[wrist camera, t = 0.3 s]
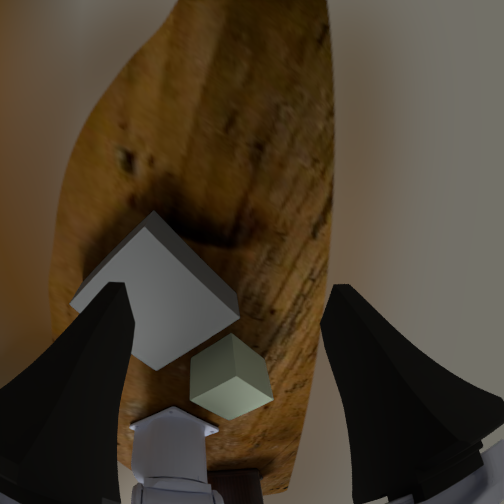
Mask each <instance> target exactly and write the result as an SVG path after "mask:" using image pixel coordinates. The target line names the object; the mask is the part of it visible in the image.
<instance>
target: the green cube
mask: <svg viewBox="0 0 504 504" xmlns="http://www.w3.org/2000/svg"><path fill="white" fill-rule="evenodd" d="M272 400H274V398H273V394H272V390H271V385H270V381H269V376H268V372H267V368H266V363H265V359H264V358H262V357H261V356H260V355H259V354H257V353H256V352H255V351H253V350H252V349H251V348H250V347H248V346H247V345H246V344H245V343H243V342H242V341H241V340H240V339H239V338H237V337H236V336H235V335H234V334H232V333H230V334H229V335H227V336H225V337H224V338H222V339H221V340H219V341H218V342H216V343H214V344H213V345H211V346H210V347H208V348H206V349H205V350H203V351H201V352H200V353H198V354H197V355H195V356H193V357H192V358H191V367H190V401H192V402H194V403H196V404H198V405H200V406H201V407H203V408H205V409H207V410H209V411H211V412H213V413H215V414H217V415H219V416H221V417H223V418H225V419H227V420H232V419H234V418H236V417H238V416H241V415H243V414H245V413H247V412H249V411H252V410H254V409H256V408H258V407H260V406H262V405H264V404H266V403H268V402H270V401H272Z"/></svg>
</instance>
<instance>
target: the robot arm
mask: <svg viewBox="0 0 504 504" xmlns="http://www.w3.org/2000/svg"><path fill="white" fill-rule="evenodd" d="M320 326H321V332H322V337H323V341H324V347H325V350H326V353H327V356H328V359H329V362H330V365H331V368H332V371H333V375H334V377H335V380H336V384H337V386H338V390H339V392H340V396H341V399H342V403H343V407H344V412H345V417H346V423H347V428H348V436H349V443H350V452H351V463H352V498H353V503H354V504H363V503H367V502H370V501H374V500H377V499H380V498H383V497H385V496H387V497H388V501H389V502H388V503H385V504H499V503H501V502H502V501H503V500H504V440H503V439H502V440H500V441H498V442H497V443H496V444H494V445H493V446H491V447H490V448H489V449H487V450H486V451H484V452H482V453H481V454H480V452H479V449H481V448H482V447H483V444H482V442H481V439H483V438H485V437H486V436H487V435H489V434H490V433H492V432H493V431H494V430H495V429H497V428H498V427H500V426H501V425H502V424H504V401H503V399H502V398H501V397H498V396H496V395H494V394H491V393H489V392H487V391H484V390H482V389H480V388H477V387H476V386H474V385H472V384H470V383H468V382H466V381H464V380H463V379H461V378H459V377H458V376H456V375H454V374H453V373H451V372H449V371H448V370H447V369H445V368H444V367H442V366H441V365H439V364H438V363H436V362H435V361H433V360H432V359H431V358H430V357H428V356H427V355H426V354H424V353H423V352H422V351H420V350H419V349H418V348H417V347H416V346H414V345H413V344H412V343H411V342H410V341H409V340H407V339H406V338H405V337H404V336H403V335H402V334H401V333H400V332H398V331H397V330H396V329H395V328H394V327H393V326H392V325H391V324H390V323H389V322H388V321H387V320H386V319H385V318H383V316H382V315H381V314H380V313H378V312H377V311H376V310H375V309H374V308H373V307H372V306H371V305H370V304H369V303H368V302H367V301H366V300H365V299H364V298H363V297H362V296H361V295H360V294H359V293H358V292H357V291H356V290H355V289H354V288H353V287H352V286H351V285H349V284H334V285H333V288H332V291H331V294H330V297H329V300H328V302H327V305H326V308H325V311H324V314H323V317H322V319H321V322H320ZM134 331H135V319H134V316H133V312H132V309H131V305H130V301H129V298H128V294H127V290H126V286H125V282H108V283H107V284H106V285H105V286H104V287H103V288H102V289H101V290H100V291H99V293H98V294H97V295H96V296H95V297H94V298H93V299H92V301H91V302H90V303H89V304H88V305H87V306H86V307H85V309H84V310H83V311H82V312H81V313H80V314H79V315H78V316H77V318H76V319H75V320H74V321H73V322H72V323H71V324H70V326H69V327H68V328H67V329H66V330H65V331H64V332H63V333H62V334H61V335H60V336H59V337H58V338H57V339H56V341H55V342H54V343H53V344H52V345H51V346H50V347H49V348H48V349H47V350H46V351H45V352H44V353H43V354H42V355H41V356H40V357H38V358H37V359H36V361H34V362H33V363H32V364H31V365H30V366H29V367H28V368H26V369H25V370H24V371H23V372H21V373H20V374H19V375H18V376H16V377H15V378H14V379H13V380H12V381H10V382H9V383H8V384H7V385H5V386H4V387H2V388H1V389H0V504H121V499H120V492H119V482H118V470H117V469H118V468H117V429H118V414H119V406H120V400H121V395H122V391H123V386H124V381H125V377H126V373H127V369H128V364H129V360H130V356H131V352H132V347H133V339H134ZM130 428H131V429H132V430H134V431H135V433H134V442H133V451H132V461H131V467H132V472H133V474H134V476H135V478H136V479H137V481H138V482H139V483H137V484H136V485H135V486H133V490H132V498H131V504H224V501H223V498H222V496H221V495H220V494H219V493H218V492H217V491H216V490H211V484H208V482H207V468H206V451H205V436H208V435H211V434H213V433H216V432H218V431H219V428H218V427H215V426H213V425H211V424H209V423H207V422H205V421H203V420H201V419H199V418H196V417H194V416H192V415H190V414H188V413H187V412H185V411H183V410H181V409H179V408H177V407H170V408H168V409H165V410H163V411H161V412H159V413H157V414H154V415H152V416H150V417H147V418H145V419H143V420H140V421H138V422H136V423H133V424H131V425H130Z"/></svg>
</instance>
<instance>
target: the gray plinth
mask: <svg viewBox="0 0 504 504" xmlns="http://www.w3.org/2000/svg"><path fill="white" fill-rule="evenodd" d="M108 282H125V286H126V290H127V294H128V298H129V301H130V305H131V309H132V312H133V316H134V319H135V331H134V339H133V347H132V352H131V354H132V355H134V356H135V357H137V358H138V359H140V360H141V361H142V362H144V363H145V364H147V365H148V366H150V367H151V368H153V369H154V370H156V371H157V370H159V369H160V368H162V367H164V366H165V365H167V364H169V363H170V362H172V361H174V360H175V359H177V358H178V357H180V356H182V355H183V354H185V353H187V352H188V351H190V350H191V349H193V348H195V347H196V346H198V345H199V344H201V343H202V342H204V341H206V340H207V339H209V338H210V337H212V336H213V335H215V334H216V333H218V332H220V331H221V330H223V329H224V328H226V327H227V326H229V325H230V324H232V323H233V322H235V321H236V320H238V319H239V318H240V313H239V307H238V300H237V293H236V292H234V291H233V290H232V289H231V288H230V287H229V286H228V285H227V284H226V283H225V282H224V281H223V280H222V279H221V278H220V277H219V276H218V275H217V274H216V273H215V272H214V271H213V270H212V269H211V268H210V267H209V266H208V265H207V264H206V263H205V262H204V261H203V260H202V259H201V258H200V257H199V256H198V255H197V254H196V253H195V252H194V251H193V250H192V249H191V248H190V247H189V246H188V245H187V244H186V243H185V242H184V241H183V240H182V239H181V238H180V237H179V236H178V235H177V234H176V233H175V232H174V230H173V229H172V228H171V227H170V226H169V225H168V224H167V223H166V222H165V221H164V220H163V219H162V218H161V217H160V216H159V215H158V214H157V213H156V212H155V211H154V210H153V211H152V212H151V213H150V214H149V215H148V216H147V217H146V218H145V219H144V220H143V221H142V222H141V223H140V224H139V225H138V226H137V227H135V228H134V229H133V230H132V231H131V232H130V233H129V234H128V235H127V236H126V237H125V238H124V239H123V240H122V241H121V242H120V243H119V244H118V245H117V246H116V247H115V248H114V249H113V250H112V251H111V252H110V253H109V254H108V255H107V256H106V257H105V259H104V260H103V261H102V262H101V263H100V264H99V265H98V266H97V267H96V268H95V269H94V270H93V271H92V272H91V273H90V275H89V276H88V277H87V278H86V279H85V280H84V281H83V282H82V284H81V285H80V287H79V289H78V290H77V292H76V294H75V295H74V297H73V299H72V300H71V302H70V305H71V306H72V307H73V308H74V309H75V310H77V311H78V312H79V313H81V312H82V311H83V310H84V309H85V307H86V306H87V305H88V304H89V303H90V302H91V301H92V299H93V298H94V297H95V296H96V295H97V294H98V293H99V291H100V290H101V289H102V288H103V287H104V286H105V285H106V284H107V283H108Z"/></svg>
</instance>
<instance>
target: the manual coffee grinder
mask: <svg viewBox="0 0 504 504" xmlns="http://www.w3.org/2000/svg"><path fill="white" fill-rule="evenodd" d="M262 479H263V477H262V475H260V473H259V470H258V469H256V468H253V469H236V470H221V471H208V472H207V482H208V484H211V490H216V491H217V492H218V493H219V494H220V495H221V496H222V498H223V501H224V504H264V503H263V496H262V490H261V484H260V480H262Z"/></svg>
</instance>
